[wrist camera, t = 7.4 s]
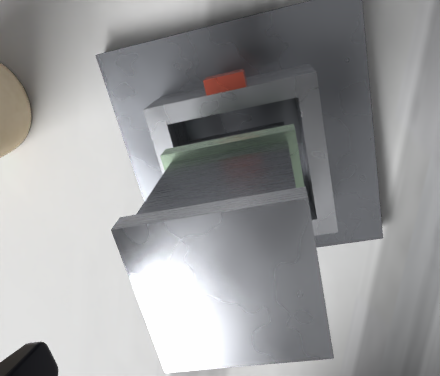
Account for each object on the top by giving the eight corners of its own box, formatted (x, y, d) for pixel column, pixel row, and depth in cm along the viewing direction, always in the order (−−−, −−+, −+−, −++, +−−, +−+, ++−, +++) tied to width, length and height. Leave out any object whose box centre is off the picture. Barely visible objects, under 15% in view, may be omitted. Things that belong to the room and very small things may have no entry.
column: (307, 218, 17) (338, 360, 10) (203, 234, 17) (162, 376, 10) (290, 112, 15) (312, 192, 8) (176, 135, 16) (105, 226, 9)
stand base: (378, 228, 21) (401, 272, 18) (169, 258, 24) (152, 302, 20) (355, -11, 17) (380, -19, 13) (103, 53, 19) (65, 61, 16)
